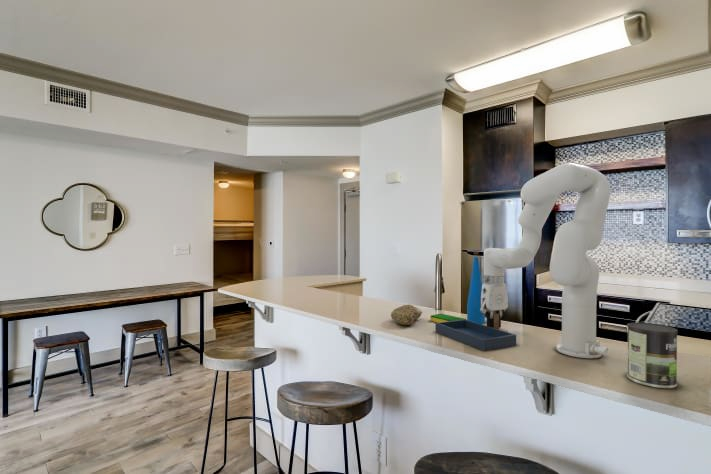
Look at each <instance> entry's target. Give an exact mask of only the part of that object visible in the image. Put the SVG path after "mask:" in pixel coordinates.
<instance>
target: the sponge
mask: <svg viewBox="0 0 711 474" xmlns="http://www.w3.org/2000/svg"><path fill="white" fill-rule="evenodd" d="M422 314H423V311H422V310H421V309H420V308H419V307H417V306H414V305H412V304H403V305H401V306H399V307H396V308H394V309H393V310H392V311H391V313H390V317H391V319H392V320H393V321H394V322H395V323H397V324H398V325H400V326H401V325H402V326H409V325H411V324H413V323H414V322H415V321H416V319H419V318H420V317H421V316H422Z"/></svg>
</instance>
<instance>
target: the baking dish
mask: <svg viewBox="0 0 711 474" xmlns="http://www.w3.org/2000/svg"><path fill="white" fill-rule="evenodd" d="M465 319H466V318H464V319H463V320H455V321H448V322H440V323H437V322H435V333H436V334H438V335H441V336H444V337H447V338H449V339H452V340H455V341H457V342H460V343H462V344H465V345H467V346H469V347H472V348H476V349H478V350H481V351H484V352H487V351H492V350H497V349H503V348H508V347H514V346H517V334H514V333H511V332H509V331H508V332H505V331H502V330H498V329H495V328H492V327H489V326H487V325H485V324H479V323H475V322H472V321H469V320H467V319H466V320H465Z"/></svg>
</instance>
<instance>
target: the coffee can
mask: <svg viewBox="0 0 711 474" xmlns="http://www.w3.org/2000/svg"><path fill="white" fill-rule="evenodd" d="M626 326H627V375H626V377H627V378H628V379H629V380H630V381H632V382H634V383H637V384H639V385H643V386H647V387H651V388H657V389H674V388H675V389H676V388H677V387H678V384H677V378H678V377H677V376H678V375H677V374H678V369H677V368H678V367H677V366H678V333H679V330H678V329H677V328H674V327H672V326H669V325H664V324H659V323H651V322H638V321H637V322H629V323H627V324H626Z"/></svg>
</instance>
